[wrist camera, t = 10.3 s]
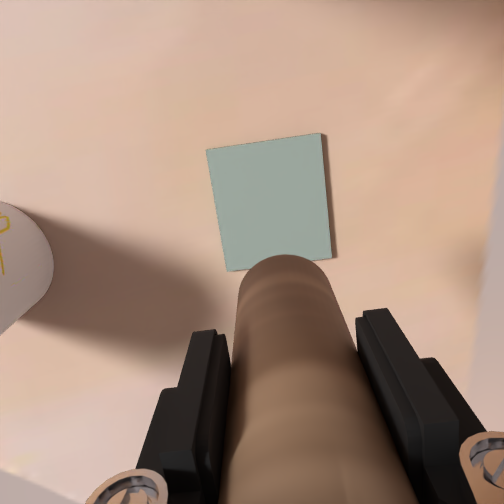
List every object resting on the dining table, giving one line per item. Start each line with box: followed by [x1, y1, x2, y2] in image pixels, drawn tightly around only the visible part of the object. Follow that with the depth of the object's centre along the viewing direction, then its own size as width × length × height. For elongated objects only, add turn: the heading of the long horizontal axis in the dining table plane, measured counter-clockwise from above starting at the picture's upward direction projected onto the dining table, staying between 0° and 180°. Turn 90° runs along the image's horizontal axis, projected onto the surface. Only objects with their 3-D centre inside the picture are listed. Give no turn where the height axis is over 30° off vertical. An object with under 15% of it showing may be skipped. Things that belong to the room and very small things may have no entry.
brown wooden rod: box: [217, 254, 419, 504], centre depth 9 cm, size 3×3×13 cm
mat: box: [206, 133, 332, 272], centre depth 28 cm, size 8×7×1 cm
